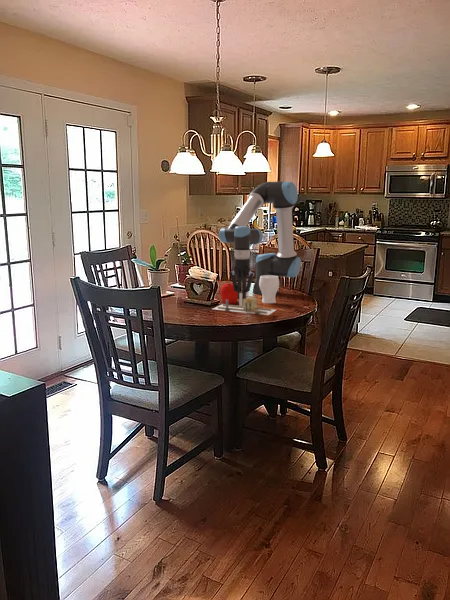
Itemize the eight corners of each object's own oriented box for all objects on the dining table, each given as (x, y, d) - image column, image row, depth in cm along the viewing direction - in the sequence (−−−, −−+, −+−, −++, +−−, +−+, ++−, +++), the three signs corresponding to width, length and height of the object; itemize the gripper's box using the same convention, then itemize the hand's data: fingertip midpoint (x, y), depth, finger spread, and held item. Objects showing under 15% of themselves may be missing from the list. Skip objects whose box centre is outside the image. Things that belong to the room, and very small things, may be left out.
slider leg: (247, 308, 252) (247, 296, 251) (256, 309, 250) (256, 297, 249) (241, 311, 245) (241, 299, 244) (250, 312, 243) (250, 300, 242)
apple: (234, 302, 273) (234, 280, 271) (242, 306, 264) (243, 283, 262) (217, 304, 269) (217, 281, 267) (225, 308, 260) (225, 284, 258)
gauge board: (221, 307, 262) (221, 294, 261) (276, 312, 250) (277, 299, 249) (211, 312, 251) (211, 298, 250) (268, 318, 239) (268, 304, 238)
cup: (277, 307, 262) (278, 278, 259) (257, 306, 264) (257, 277, 261) (279, 302, 272) (280, 275, 269) (260, 302, 274) (260, 274, 271)
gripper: (226, 258, 245) (226, 305, 250) (251, 259, 240) (251, 308, 245) (233, 256, 252) (232, 302, 257) (257, 258, 246) (256, 305, 251)
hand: (241, 305), depth 251 cm, fingers closed
